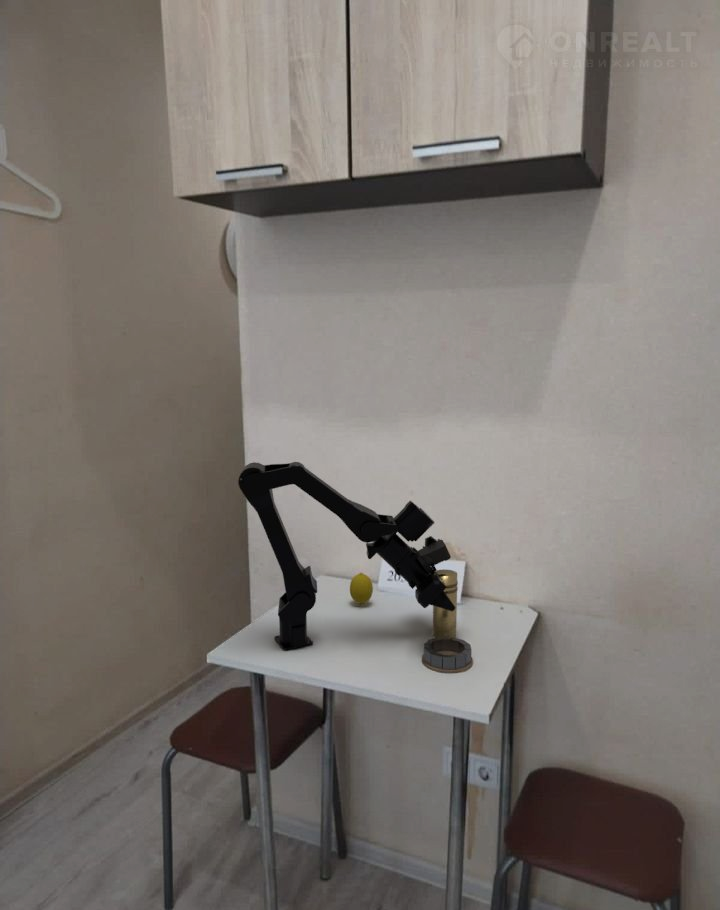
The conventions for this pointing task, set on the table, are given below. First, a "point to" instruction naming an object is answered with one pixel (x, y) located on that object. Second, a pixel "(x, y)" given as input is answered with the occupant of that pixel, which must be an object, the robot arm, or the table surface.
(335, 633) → the table surface
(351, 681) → the table surface
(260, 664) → the table surface
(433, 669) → the collar plate
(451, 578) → the piston
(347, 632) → the table surface
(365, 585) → the lemon
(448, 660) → the collar
